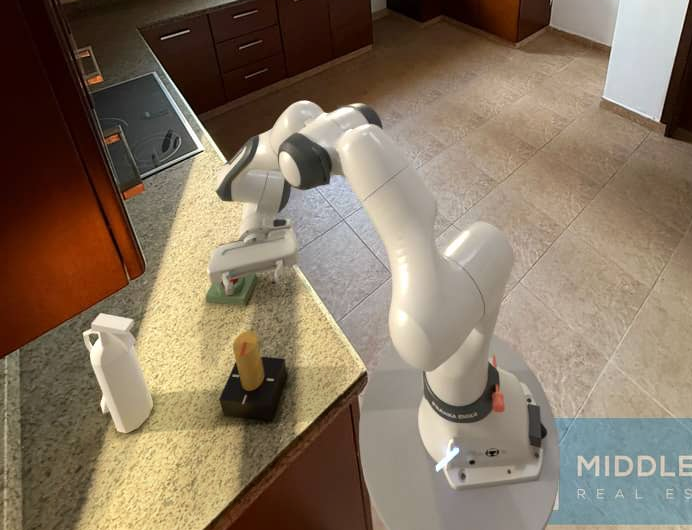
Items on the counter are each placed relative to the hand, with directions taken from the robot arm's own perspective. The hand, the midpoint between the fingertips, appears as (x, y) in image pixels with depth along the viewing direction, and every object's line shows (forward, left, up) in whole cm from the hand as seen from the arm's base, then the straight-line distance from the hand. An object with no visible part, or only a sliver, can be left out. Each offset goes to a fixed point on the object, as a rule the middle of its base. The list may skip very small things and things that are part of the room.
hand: (251, 287), depth 93 cm
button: (+12, -10, -11) cm, 19 cm away
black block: (-4, +11, -15) cm, 19 cm away
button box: (+12, -10, -15) cm, 21 cm away
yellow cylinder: (-4, +11, -10) cm, 15 cm away
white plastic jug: (+20, +16, -15) cm, 30 cm away
